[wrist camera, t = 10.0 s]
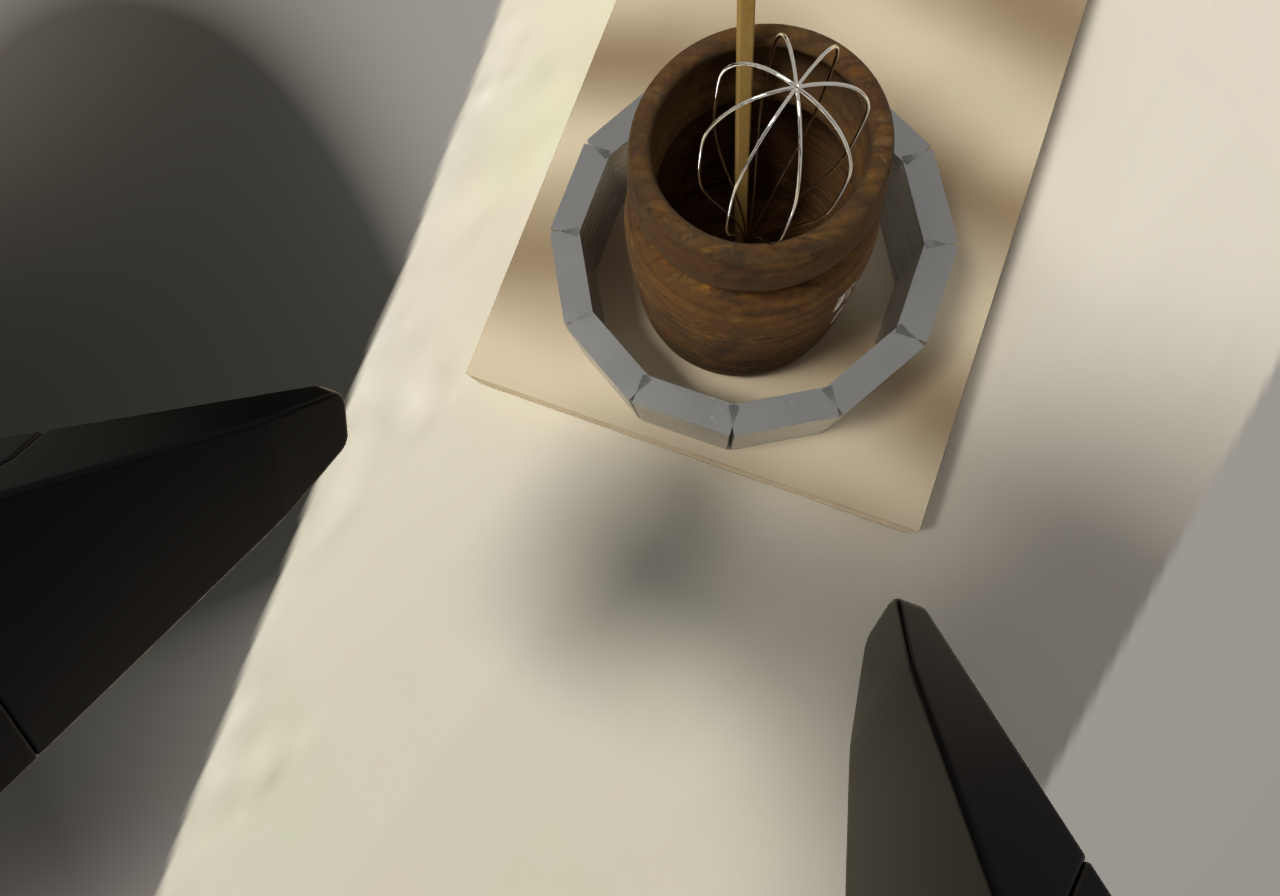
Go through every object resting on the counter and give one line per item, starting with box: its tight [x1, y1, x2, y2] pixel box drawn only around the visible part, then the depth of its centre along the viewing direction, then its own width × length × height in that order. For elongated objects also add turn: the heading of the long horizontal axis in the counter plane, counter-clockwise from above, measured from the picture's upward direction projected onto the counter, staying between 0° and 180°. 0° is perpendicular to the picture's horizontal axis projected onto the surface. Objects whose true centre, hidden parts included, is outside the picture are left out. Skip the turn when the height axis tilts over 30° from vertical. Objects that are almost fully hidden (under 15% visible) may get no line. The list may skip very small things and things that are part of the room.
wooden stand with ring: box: [466, 0, 1087, 532], centre depth 16 cm, size 22×14×9 cm, turn 160°
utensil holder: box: [624, 0, 895, 376], centre depth 13 cm, size 6×6×12 cm
